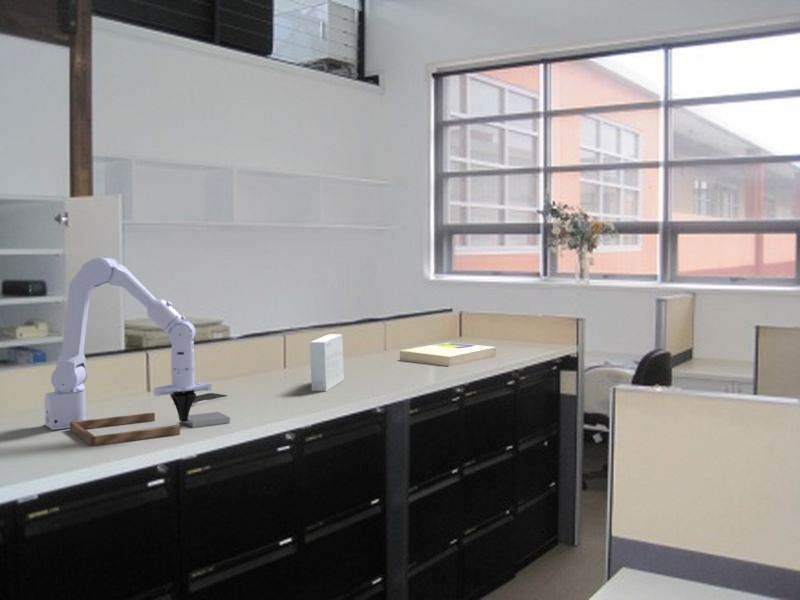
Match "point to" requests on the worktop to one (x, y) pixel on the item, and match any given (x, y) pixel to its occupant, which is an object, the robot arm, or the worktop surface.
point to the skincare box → (326, 362)
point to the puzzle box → (447, 354)
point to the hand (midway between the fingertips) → (183, 420)
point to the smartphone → (208, 398)
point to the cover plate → (207, 419)
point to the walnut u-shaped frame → (92, 440)
